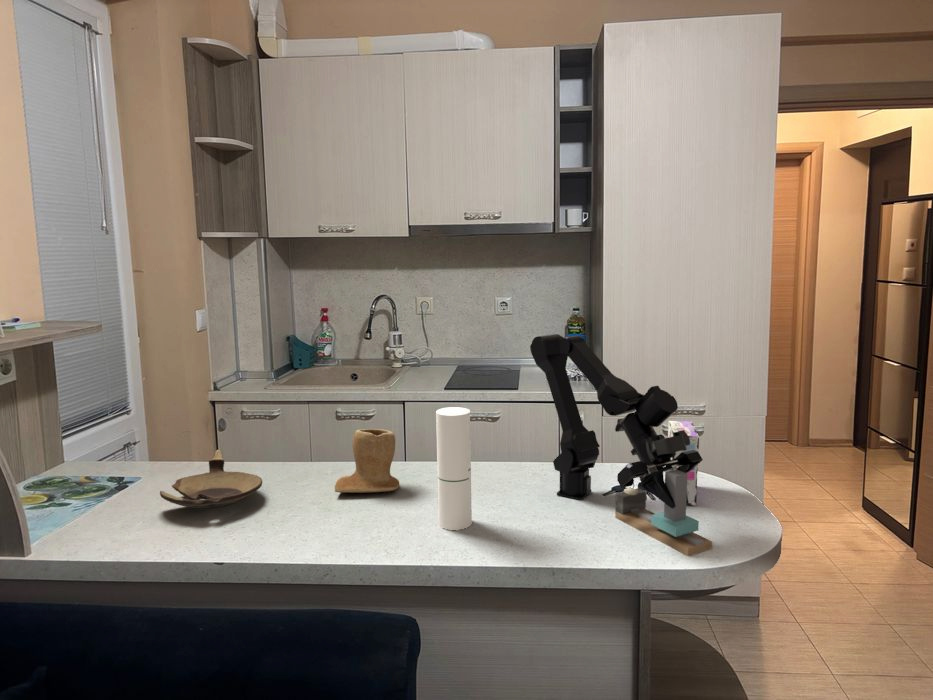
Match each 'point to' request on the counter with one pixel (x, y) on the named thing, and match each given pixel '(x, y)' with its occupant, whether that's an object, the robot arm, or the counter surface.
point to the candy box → (694, 445)
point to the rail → (637, 516)
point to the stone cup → (370, 463)
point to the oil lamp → (214, 486)
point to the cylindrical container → (454, 467)
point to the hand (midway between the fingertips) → (680, 505)
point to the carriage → (675, 517)
